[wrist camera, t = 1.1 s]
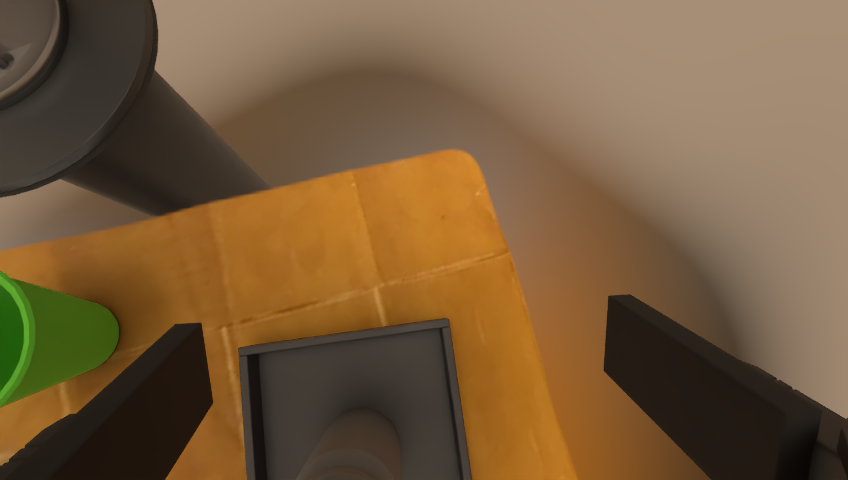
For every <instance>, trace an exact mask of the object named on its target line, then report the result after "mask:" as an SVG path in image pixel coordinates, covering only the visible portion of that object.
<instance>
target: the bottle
mask: <svg viewBox="0 0 848 480" xmlns="http://www.w3.org/2000/svg"><path fill="white" fill-rule="evenodd" d="M296 480H401V449H400V440H399V436H398V433H397V431H396V429H395V427H394V425H393V424H392V422H391V421H390V420H389V419H388V418H387V417H386V416H385V415H383V414H381V413H380V412H378V411H376V410H372V409H367V408H359V409H353V410H350V411H347V412H345V413H343V414H342V415H340V416H339V417H338V418H337V419H336V420H334V421H333V423H332V424H331V425H330V426H329V428H328V429H327V431H326V432H325V434H324V435H323V437H322V438H321V440H320V441H319V443H318V444H317V446H316V447H315V449H314V451H313V452H312V454H311V455H310V457H309V458H308V460H307V462H306V463H305V465H304V467H303V468H302V470H301V472H300V473H299V475H298V476H297V478H296Z"/></svg>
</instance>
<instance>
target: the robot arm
mask: <svg viewBox="0 0 848 480" xmlns="http://www.w3.org/2000/svg"><path fill="white" fill-rule="evenodd" d="M68 32H69V16H68V11H67V6H66V3H65V0H0V111H1V110H3V109H6V108H8V107H10V106H12V105H14V104H16V103H18V102H20V101H21V100H23V99H24V98H26V97H27V96H29V95H30V94H31V93H33V92H34V91H35V90H36V89H37V88H39V87H40V86H41V85H42V84H43V83H44V82H45V81H46V79H47V78H48V77H49V76H50V75H51V73H52V72H53V71H54V69H55V68H56V66H57V64H58V63H59V61H60V59H61V57H62V54H63V52H64V49H65V46H66V43H67V39H68ZM604 371H605V372H606V373H607V375H608V376H609V377H610V378H611V379H613V381H614V382H616V384H617V385H619V387H620V388H621V389H622V390H623V391H624V392H625V393H626V394H627V395H628V396H629V397H630V398H631V399H632V400H633V401H634V402H635V403H636V404H637V405H638V406H639V407H640V408H641V409H642V410H643V411H644V412H645V413H646V414H647V415H648V416H649V417H650V418H651V419H652V420H653V421H654V422H655V423H656V424H657V425H658V426H659V427H660V428H661V429H662V430H663V431H664V432H665V433H666V434H667V435H668V436H669V437H670V438H671V439H672V440H673V441H674V442H675V443H676V444H677V445H678V446H679V447H680V448H681V449H682V450H683V451H684V452H685V453H686V454H687V455H688V456H689V457H690V458H691V459H692V460H693V461H694V462H695V463H696V464H697V465H698V466H699V467H700V468H701V469H702V471H704V472H705V474H706V475H707V476H708V477H709V478H710V479H711V480H848V418H847V419H845V418H843V417H841V416H840V415H838V414H836V413H835V412H833V411H831V410H830V409H828V408H826V407H825V406H823V405H821V404H820V403H818V402H816V401H814V400H812V399H811V398H809V397H808V396H806V395H804V394H803V393H801V392H799V391H798V390H793V389H792V387H791V386H789V385H787V384H786V383H784V382H782V381H781V380H777V378H775V377H774V376H772V375H770V374H769V373H767V372H765V371H764V370H762V369H760V368H759V367H756V366H754V365H751V364H748V363H746V362H743V361H741V360H738V359H736V358H735V357H733V356H731V355H730V354H728V353H727V352H725V351H723V350H722V349H720V348H718V347H716V346H715V345H713V344H712V343H710V342H708V341H706V340H705V339H703V338H702V337H700V336H698V335H697V334H695V333H693V332H692V331H690V330H688V329H687V328H685V327H683V326H682V325H680V324H678V323H677V322H675V321H673V320H672V319H670V318H668V317H667V316H665V315H663V314H662V313H660V312H658V311H657V310H655V309H654V308H652V307H650V306H649V305H647V304H645V303H644V302H642V301H640V300H639V299H637V298H635V297H634V296H632V295H615V296H608V311H607V327H606V342H605V357H604ZM212 404H213V398H212V391H211V384H210V377H209V371H208V364H207V357H206V351H205V344H204V337H203V331H202V324H201V323H187V324H175V325H174V326H173V327H172V328H171V329H169V330H168V331H167V332H166V333H165V334H164V335H163V336H162V337H161V338H160V339H158V340H157V341H156V342H155V343H154V344H153V345H152V346H151V347H150V348H148V349H147V350H146V351H145V352H144V353H143V354H142V355H141V356H140V357H139V358H137V359H136V360H135V361H134V362H133V363H132V364H131V365H130V366H129V367H127V368H126V369H125V370H124V371H123V372H122V373H121V374H120V375H119V376H118V377H116V378H115V379H114V380H113V381H112V382H111V383H110V384H109V385H108V386H106V387H105V388H104V389H103V390H102V391H101V392H100V393H99V394H98V395H96V396H95V397H94V398H93V399H92V400H91V401H90V402H89V403H88V404H87V405H85V406H84V407H83V408H82V409H81V410H80V411H79V412H78V413H77V414H69V415H68V416H66V417H64V418H62V419H61V420H59V421H57V422H55V423H54V424H52V425H50V426H48V427H47V428H45V429H44V430H42V431H41V432H40V433H39V434H38V435H37V436H35V437H34V438H33V439H32V440H31V441H30V442H28V443H27V444H26V445H25V448H23V449H20V450H19V451H18V452H17V453H16V454H15V455H13V456H12V457H11V458H10V459H9V462H8V463H4V464H3V465H2V466H1V467H0V480H165V479H166V477H167V476H168V474H169V472H170V471H171V469H172V468H173V466H174V464H175V463H176V461H177V460H178V458H179V456H180V455H181V453H182V452H183V450H184V449H185V447H186V445H187V444H188V442H189V441H190V439H191V437H192V436H193V434H194V433H195V431H196V429H197V428H198V426H199V425H200V423H201V421H202V420H203V418H204V417H205V415H206V413H207V412H208V410H209V409H210V407H211V406H212Z"/></svg>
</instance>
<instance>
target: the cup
mask: <svg viewBox="0 0 848 480" xmlns="http://www.w3.org/2000/svg"><path fill="white" fill-rule="evenodd" d="M118 339H119V326H118V323H117V320H116V318H115V317H114V315H113V314H112V313H111V312H110V311H109V310H108V309H107V308H106V307H104V306H102V305H100V304H98V303H95V302H92V301H88V300H85V299H81V298H78V297H74V296H71V295H68V294H64V293H61V292H57V291H54V290H50V289H47V288H44V287H40V286H37V285H33V284H30V283H26V282H23V281H20V280H16V279H13V278H10V277H9V276H8V275H7V274H5V273H3V272H1V271H0V407H2V406H5V405H7V404H10V403H12V402H15V401H17V400H19V399H22V398H24V397H27V396H29V395H32V394H34V393H36V392H39V391H41V390H44V389H46V388H49V387H51V386H53V385H56V384H58V383H61V382H63V381H66V380H68V379H71V378H73V377H75V376H78V375H80V374H83V373H85V372H88V371H90V370H92V369H94V368H96V367H98V366H100V365H101V364H102V363H103V362H105V361H106V360H107V359H108V358H109V357H110V355H111V354H112V353H113V351H114V350H115V348H116V346H117V343H118Z"/></svg>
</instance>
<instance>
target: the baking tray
mask: <svg viewBox="0 0 848 480" xmlns="http://www.w3.org/2000/svg"><path fill="white" fill-rule="evenodd" d="M449 326H450V324H449V319H447V318H443V319H435V320H428V321H421V322H414V323H407V324H400V325H392V326H385V327H378V328H371V329H364V330H357V331H350V332H342V333H335V334H328V335H321V336H314V337H307V338H299V339H292V340H285V341H278V342H271V343H264V344H257V345H251V346H245V347H240V348H238V352H239V356H240V357H239V367H240V382H241V397H242V412H243V427H244V442H245V458H246V473H247V480H296V478H297V476H298V475H299V473H300V472H301V470H302V468H303V467H304V465H305V463H306V462H307V460H308V458H309V457H310V455H311V454H312V452H313V451H314V449H315V447H316V446H317V444H318V443H319V441H320V440H321V438H322V437H323V435H324V434H325V432H326V431H327V429H328V428H329V426H330V425H331V424H332V423H333V421H334V420H336V419H337V418H338V417H339V416H340V415H342V414H343V413H345V412H347V411H350V410H353V409H359V408H367V409H372V410H376V411H378V412H380V413H381V414H383V415H385V416H386V417H387V418H388V419H389V420H390V421H391V422H392V424H393V425H394V427H395V429H396V431H397V433H398V436H399V440H400V449H401V480H472V477H471V470H470V463H469V456H468V449H467V442H466V435H465V428H464V421H463V414H462V407H461V400H460V393H459V386H458V379H457V373H456V366H455V359H454V352H453V345H452V338H451V331H450V327H449Z"/></svg>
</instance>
